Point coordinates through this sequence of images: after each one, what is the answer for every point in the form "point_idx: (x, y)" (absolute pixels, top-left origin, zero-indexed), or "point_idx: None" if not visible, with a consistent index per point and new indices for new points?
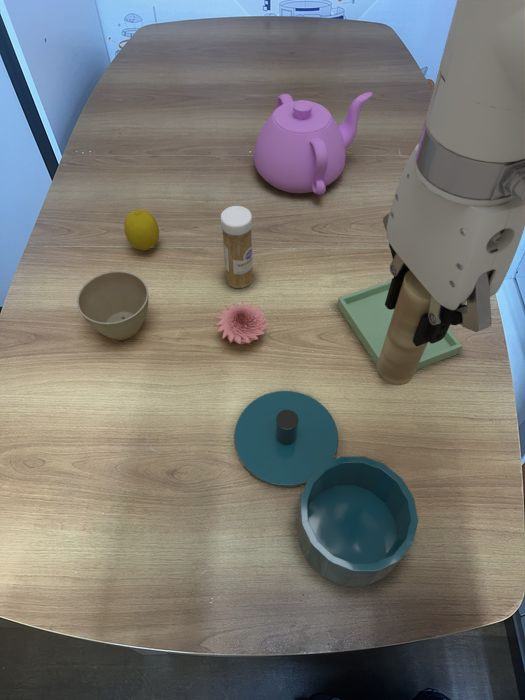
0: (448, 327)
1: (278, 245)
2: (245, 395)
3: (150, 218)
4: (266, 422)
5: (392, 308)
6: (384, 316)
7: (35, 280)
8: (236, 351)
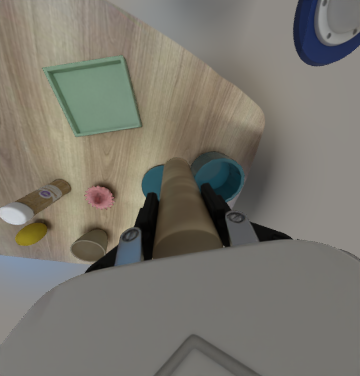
0: (226, 204)
1: (24, 157)
2: (140, 196)
3: (22, 236)
4: (157, 193)
5: None
6: (89, 106)
7: (73, 258)
8: (115, 196)
